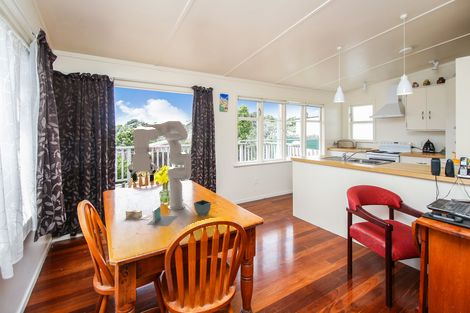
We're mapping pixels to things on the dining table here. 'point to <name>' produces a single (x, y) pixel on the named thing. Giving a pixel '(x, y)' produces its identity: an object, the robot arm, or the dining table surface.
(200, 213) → the flower pot
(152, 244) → the dining table surface
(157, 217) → the tile
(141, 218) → the turner
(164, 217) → the mat
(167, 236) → the dining table surface
